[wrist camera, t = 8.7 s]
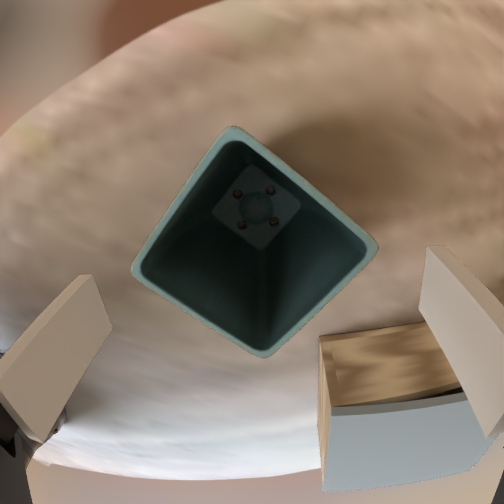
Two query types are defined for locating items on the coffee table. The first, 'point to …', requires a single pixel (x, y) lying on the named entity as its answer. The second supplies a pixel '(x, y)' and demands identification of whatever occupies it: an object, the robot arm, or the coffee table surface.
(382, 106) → the coffee table surface
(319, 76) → the coffee table surface
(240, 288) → the flower pot
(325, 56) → the coffee table surface
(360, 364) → the crate
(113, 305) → the coffee table surface
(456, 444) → the lid
